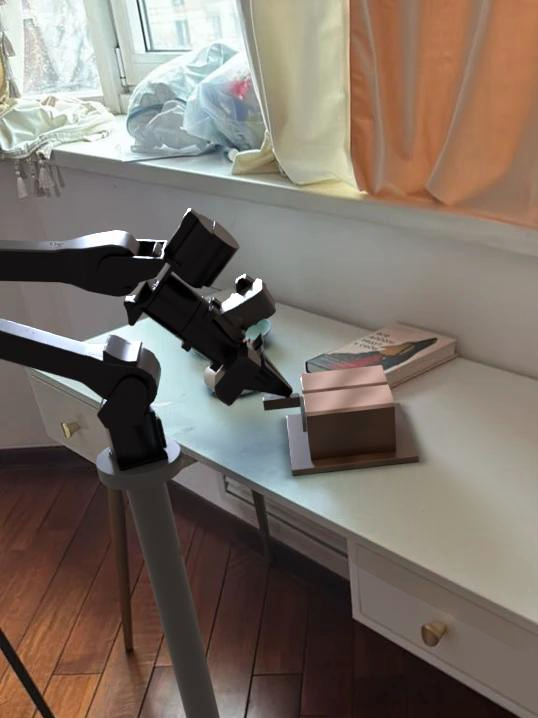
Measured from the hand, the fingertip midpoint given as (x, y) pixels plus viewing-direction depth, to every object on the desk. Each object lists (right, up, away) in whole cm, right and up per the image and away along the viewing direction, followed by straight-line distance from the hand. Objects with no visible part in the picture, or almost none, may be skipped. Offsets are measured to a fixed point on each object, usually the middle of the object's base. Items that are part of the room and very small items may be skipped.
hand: (290, 393), depth 108 cm
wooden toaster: (+8, -5, +5) cm, 10 cm away
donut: (-9, +6, +22) cm, 25 cm away
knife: (+5, -4, +3) cm, 7 cm away
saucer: (-12, +17, +36) cm, 42 cm away
